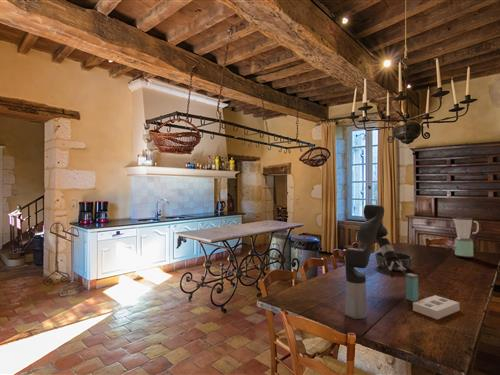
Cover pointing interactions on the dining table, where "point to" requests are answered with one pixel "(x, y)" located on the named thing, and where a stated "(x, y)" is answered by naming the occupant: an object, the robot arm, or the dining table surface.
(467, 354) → the dining table surface
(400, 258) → the bundt pan
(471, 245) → the blender
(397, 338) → the dining table surface
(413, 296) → the plug
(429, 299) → the block
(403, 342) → the dining table surface
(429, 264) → the dining table surface
